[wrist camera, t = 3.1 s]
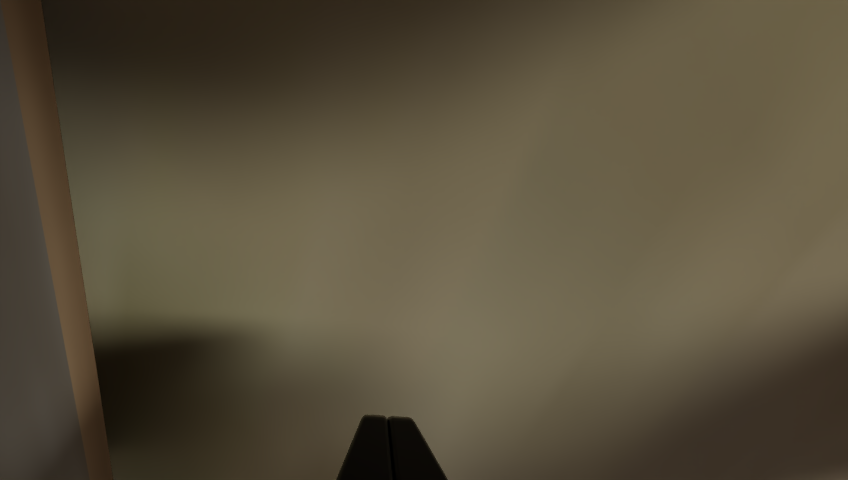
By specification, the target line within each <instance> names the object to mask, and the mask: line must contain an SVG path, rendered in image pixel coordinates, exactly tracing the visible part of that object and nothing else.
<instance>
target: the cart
mask: <svg viewBox="0 0 848 480" xmlns="http://www.w3.org/2000/svg"><path fill="white" fill-rule="evenodd" d="M0 480H113V475H112V468H111V461H110V455H109V448H108V442H107V435H106V428H105V422H104V415H103V408H102V402H101V395H100V388H99V382H98V375H97V369H96V362H95V355H94V349H93V342H92V335H91V329H90V322H89V316H88V309H87V302H86V296H85V289H84V282H83V276H82V269H81V262H80V256H79V249H78V243H77V236H76V229H75V223H74V216H73V209H72V203H71V196H70V189H69V183H68V176H67V170H66V163H65V156H64V150H63V143H62V136H61V130H60V123H59V117H58V110H57V103H56V97H55V90H54V83H53V77H52V70H51V63H50V57H49V50H48V44H47V37H46V30H45V24H44V17H43V10H42V4H41V0H0Z"/></svg>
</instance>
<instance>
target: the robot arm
mask: <svg viewBox="0 0 848 480" xmlns="http://www.w3.org/2000/svg"><path fill="white" fill-rule="evenodd" d="M336 480H448V479H447V477H446V476H445V474H444V472H443V470H442V469H441V467H440V465H439V464H438V462H437V460H436V458H435V457H434V455H433V453H432V451H431V450H430V448H429V446H428V444H427V443H426V441H425V439H424V437H423V436H422V434H421V432H420V431H419V429H418V427H417V425H416V424H415V422H414V421H413V419H411V418H409V417H397V416H391V417H389V418H388V419H387V418H386V417H385V416H380V415H364V416H363V417H362V419H361V421H360V423H359V426H358V428H357V430H356V433H355V435H354V438H353V440H352V443H351V445H350V447H349V450H348V452H347V455H346V457H345V460H344V462H343V465H342V467H341V469H340V472H339V474H338V477H337V479H336Z"/></svg>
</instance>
